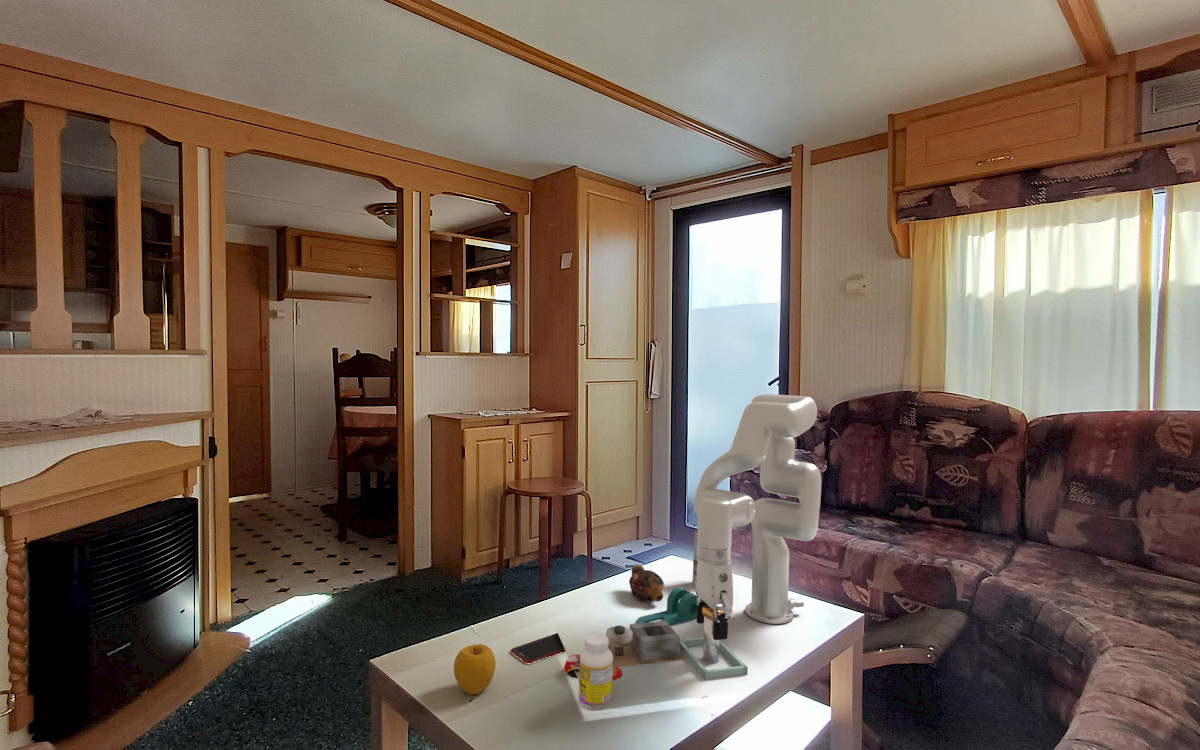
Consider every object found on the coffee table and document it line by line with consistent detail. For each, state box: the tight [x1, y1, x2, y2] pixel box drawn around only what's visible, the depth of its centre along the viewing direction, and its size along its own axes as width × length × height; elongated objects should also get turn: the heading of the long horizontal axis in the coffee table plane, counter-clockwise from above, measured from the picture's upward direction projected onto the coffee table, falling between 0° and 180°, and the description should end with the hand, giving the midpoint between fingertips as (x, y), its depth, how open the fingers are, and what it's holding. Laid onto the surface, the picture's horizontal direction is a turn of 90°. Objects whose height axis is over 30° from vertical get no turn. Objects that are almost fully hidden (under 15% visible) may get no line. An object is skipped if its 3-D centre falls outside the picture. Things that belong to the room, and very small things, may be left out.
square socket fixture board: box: [605, 620, 686, 668], centre depth 138 cm, size 17×11×8 cm, turn 105°
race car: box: [563, 654, 624, 681], centre depth 130 cm, size 13×5×4 cm, turn 64°
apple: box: [453, 643, 497, 696], centre depth 124 cm, size 8×8×9 cm
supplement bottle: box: [578, 633, 613, 711], centre depth 120 cm, size 7×7×13 cm
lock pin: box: [702, 605, 723, 665], centre depth 135 cm, size 4×4×12 cm
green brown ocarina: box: [628, 564, 665, 602], centre depth 174 cm, size 10×15×8 cm, turn 31°
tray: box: [680, 636, 749, 680], centre depth 135 cm, size 10×15×3 cm, turn 15°
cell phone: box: [510, 632, 567, 664], centre depth 142 cm, size 8×15×1 cm, turn 130°
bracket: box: [636, 586, 699, 627], centre depth 156 cm, size 18×7×8 cm, turn 121°
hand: (711, 630), depth 135 cm, fingers open, 7 cm apart
